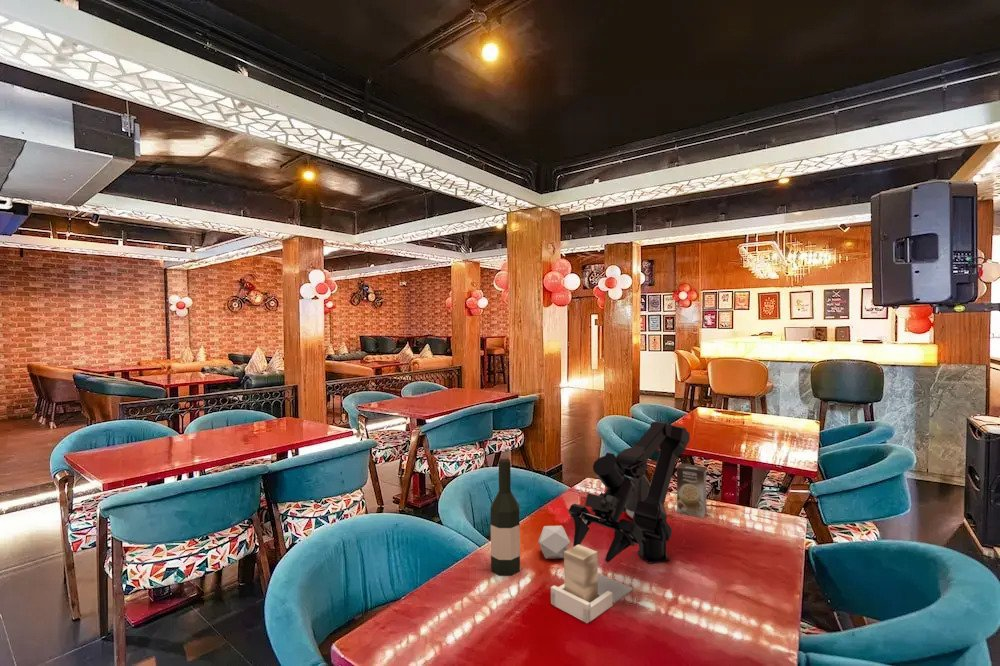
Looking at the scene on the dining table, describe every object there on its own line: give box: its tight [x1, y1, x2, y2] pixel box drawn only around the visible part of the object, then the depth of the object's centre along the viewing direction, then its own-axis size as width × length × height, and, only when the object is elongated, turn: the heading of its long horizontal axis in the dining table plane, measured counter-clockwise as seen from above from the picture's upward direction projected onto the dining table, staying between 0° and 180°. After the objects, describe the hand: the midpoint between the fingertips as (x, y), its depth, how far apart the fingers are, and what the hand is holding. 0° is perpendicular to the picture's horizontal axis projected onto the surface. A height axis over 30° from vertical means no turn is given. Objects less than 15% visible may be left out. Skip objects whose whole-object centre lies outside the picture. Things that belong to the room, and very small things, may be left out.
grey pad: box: [598, 573, 634, 604], centre depth 118 cm, size 8×10×1 cm
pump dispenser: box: [625, 474, 651, 519], centre depth 162 cm, size 10×10×15 cm
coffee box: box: [676, 462, 707, 519], centre depth 166 cm, size 9×6×16 cm
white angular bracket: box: [550, 583, 614, 624], centre depth 111 cm, size 10×10×4 cm
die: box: [537, 525, 571, 560], centre depth 135 cm, size 8×9×10 cm
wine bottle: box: [490, 456, 521, 577], centre depth 128 cm, size 8×8×30 cm
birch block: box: [563, 544, 599, 603], centre depth 111 cm, size 6×6×12 cm
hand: (590, 554), depth 113 cm, fingers open, 9 cm apart
